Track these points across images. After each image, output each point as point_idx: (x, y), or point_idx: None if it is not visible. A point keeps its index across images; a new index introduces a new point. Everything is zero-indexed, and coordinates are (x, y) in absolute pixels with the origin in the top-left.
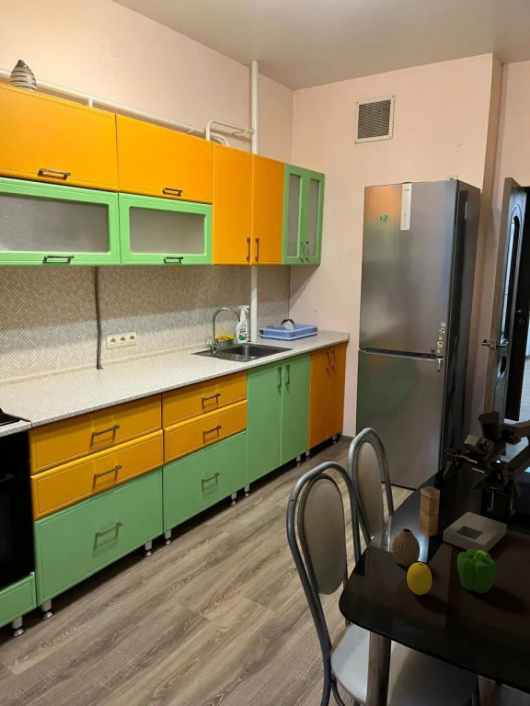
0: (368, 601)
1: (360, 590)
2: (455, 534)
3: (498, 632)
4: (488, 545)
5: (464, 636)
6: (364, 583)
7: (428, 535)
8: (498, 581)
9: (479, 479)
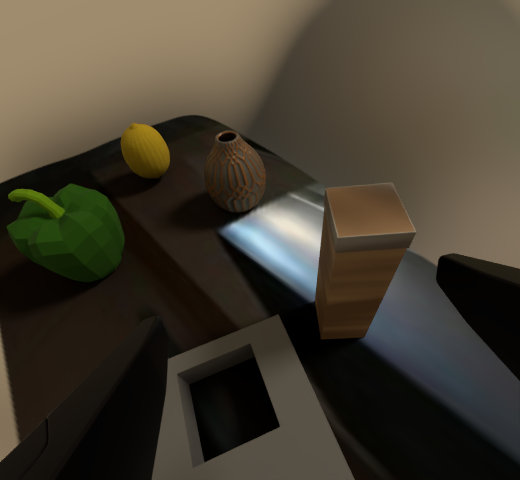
0: (190, 131)
1: (214, 131)
2: (239, 333)
3: None
4: None
5: (62, 182)
6: None
7: (315, 301)
8: (66, 321)
9: (90, 395)
